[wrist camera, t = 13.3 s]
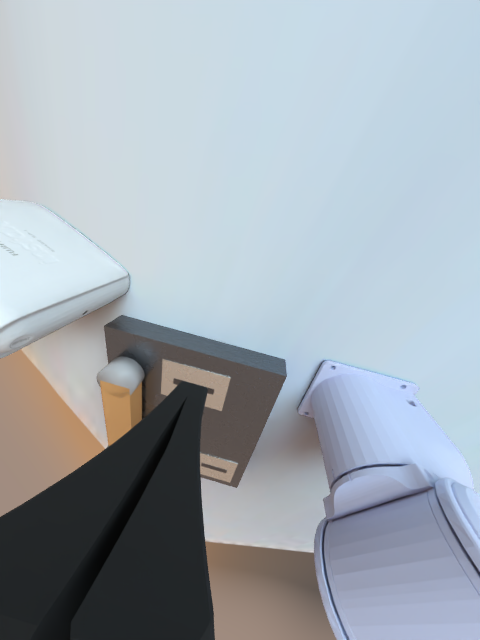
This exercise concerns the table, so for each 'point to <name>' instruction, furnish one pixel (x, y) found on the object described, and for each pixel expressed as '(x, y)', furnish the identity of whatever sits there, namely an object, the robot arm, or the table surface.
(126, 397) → the tan grey headed bar
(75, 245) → the photo printer
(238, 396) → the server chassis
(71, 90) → the table surface
